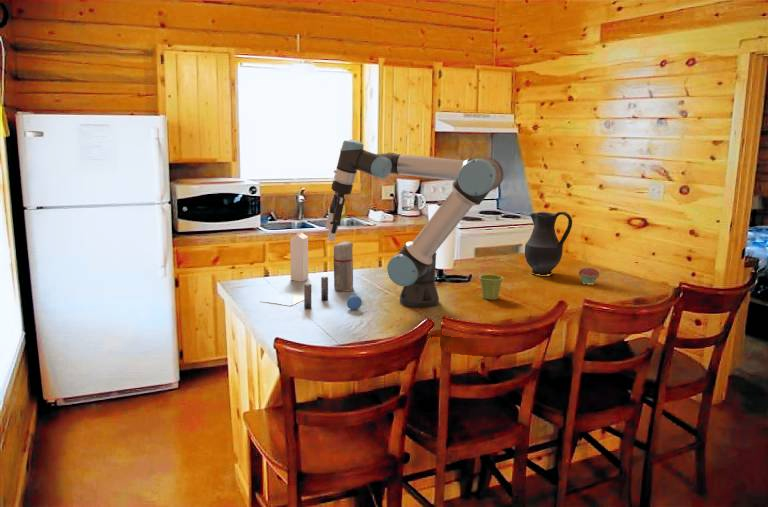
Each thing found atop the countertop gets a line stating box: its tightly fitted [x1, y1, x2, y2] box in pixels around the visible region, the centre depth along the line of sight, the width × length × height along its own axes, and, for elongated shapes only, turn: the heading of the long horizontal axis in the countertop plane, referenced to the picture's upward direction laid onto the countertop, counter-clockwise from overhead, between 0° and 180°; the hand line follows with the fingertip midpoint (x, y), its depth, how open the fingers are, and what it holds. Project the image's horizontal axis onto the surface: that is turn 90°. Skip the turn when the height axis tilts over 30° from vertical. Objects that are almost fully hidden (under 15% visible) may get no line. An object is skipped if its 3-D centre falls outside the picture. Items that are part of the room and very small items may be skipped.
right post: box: [320, 276, 329, 302], centre depth 238 cm, size 3×3×9 cm
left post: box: [303, 283, 312, 310], centre depth 227 cm, size 3×3×9 cm
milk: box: [289, 228, 309, 282], centre depth 268 cm, size 6×6×22 cm
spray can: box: [333, 240, 354, 292], centre depth 253 cm, size 8×8×20 cm
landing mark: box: [281, 294, 304, 306], centre depth 239 cm, size 14×14×1 cm
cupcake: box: [578, 258, 600, 284], centre depth 270 cm, size 9×8×12 cm
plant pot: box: [478, 274, 504, 301], centre depth 245 cm, size 9×9×9 cm
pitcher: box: [524, 211, 573, 275], centre depth 284 cm, size 17×21×30 cm
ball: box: [346, 294, 362, 311], centre depth 226 cm, size 6×6×6 cm
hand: (329, 234), depth 233 cm, fingers open, 13 cm apart
